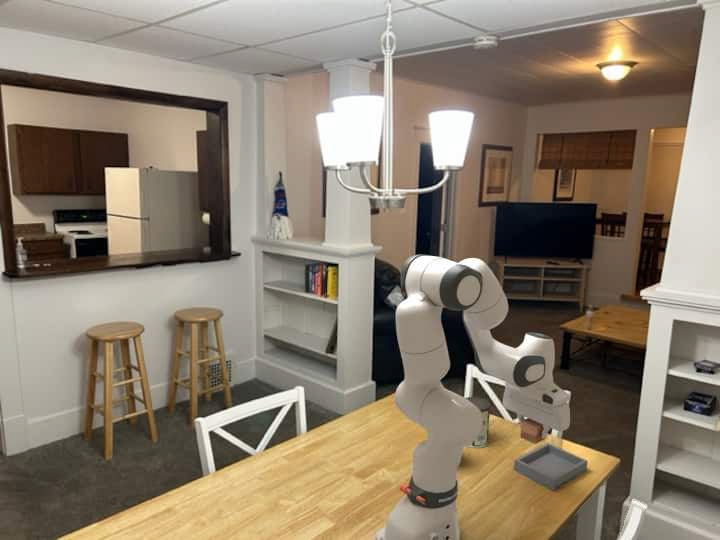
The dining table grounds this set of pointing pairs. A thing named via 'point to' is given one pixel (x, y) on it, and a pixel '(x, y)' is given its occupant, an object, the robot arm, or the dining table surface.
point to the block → (531, 431)
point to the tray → (550, 466)
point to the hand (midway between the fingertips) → (533, 433)
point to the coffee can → (485, 409)
